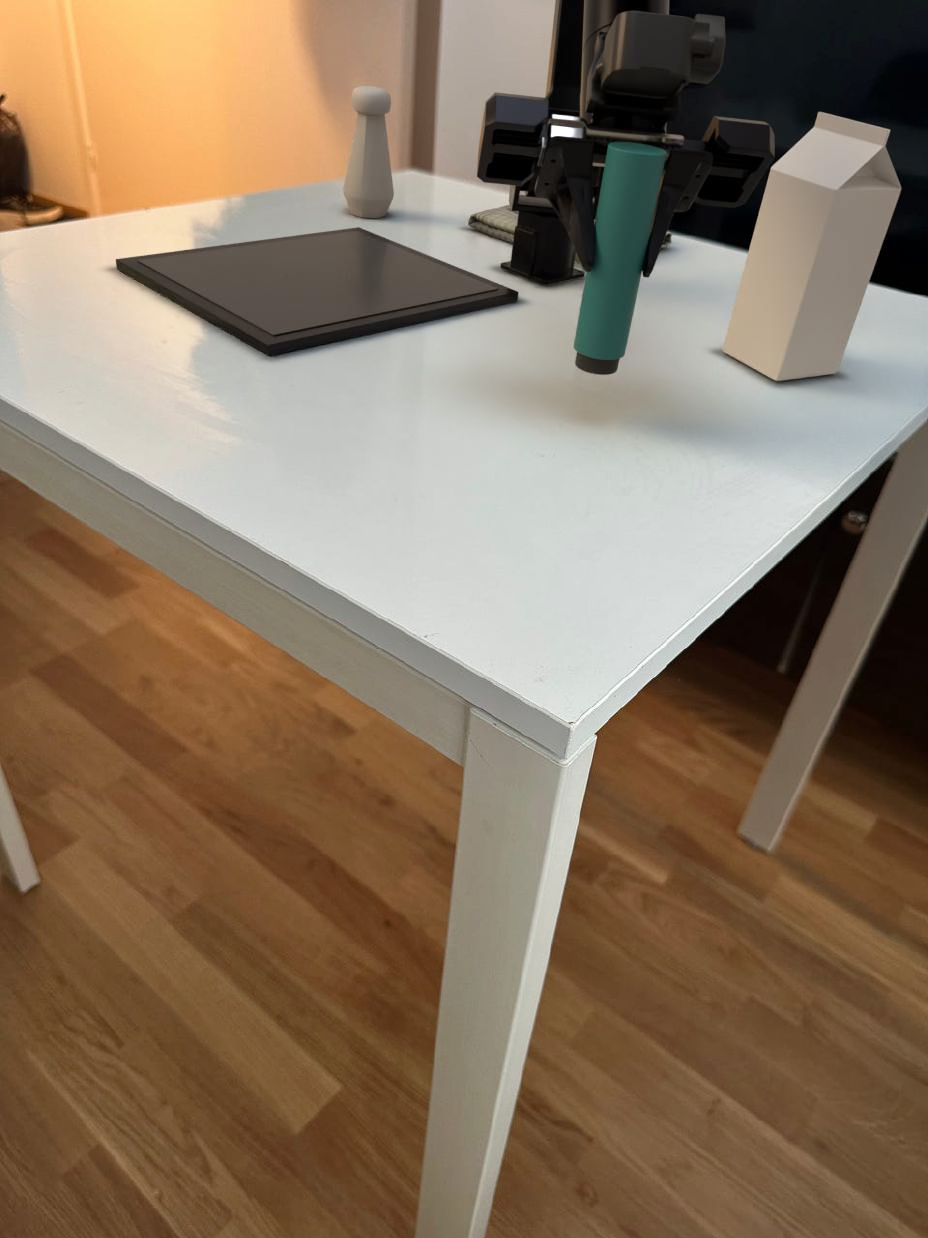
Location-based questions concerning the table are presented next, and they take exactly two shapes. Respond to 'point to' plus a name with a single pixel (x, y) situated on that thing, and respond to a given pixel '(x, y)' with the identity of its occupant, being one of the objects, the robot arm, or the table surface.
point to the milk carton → (813, 250)
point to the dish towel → (511, 224)
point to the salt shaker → (369, 155)
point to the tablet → (313, 287)
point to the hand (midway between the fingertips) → (618, 271)
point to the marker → (617, 254)
